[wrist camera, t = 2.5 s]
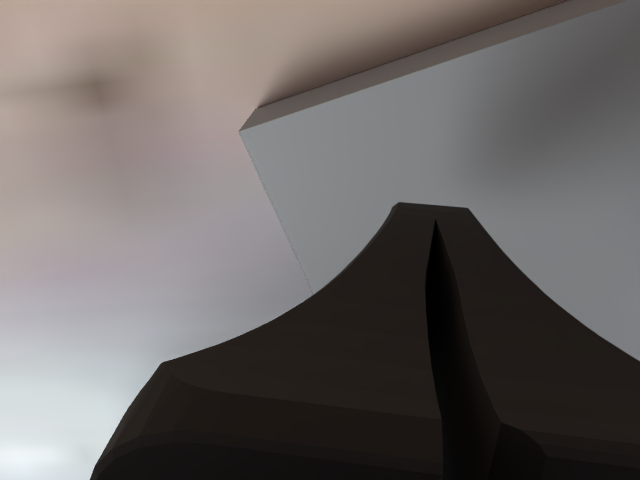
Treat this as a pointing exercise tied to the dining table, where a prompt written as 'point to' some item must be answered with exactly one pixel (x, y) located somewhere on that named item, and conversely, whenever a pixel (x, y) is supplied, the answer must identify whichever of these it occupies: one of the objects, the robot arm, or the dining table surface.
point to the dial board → (480, 155)
